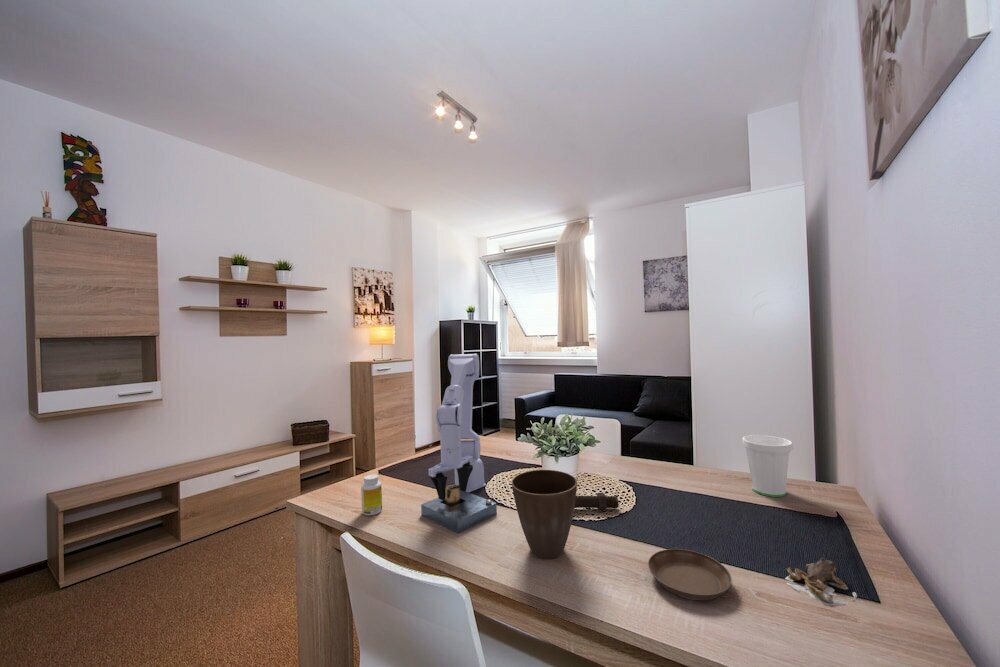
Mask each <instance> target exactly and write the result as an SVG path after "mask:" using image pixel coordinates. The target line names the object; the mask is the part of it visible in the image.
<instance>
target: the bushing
mask: <svg viewBox="0 0 1000 667" xmlns="http://www.w3.org/2000/svg"><path fill="white" fill-rule="evenodd" d="M445 491H446V497H445V499H446V505H448V506H450V507H453V506H455V505H458V504H460V494H459V486H458V485H455V484H449V485H446V488H445Z"/></svg>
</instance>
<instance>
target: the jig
mask: <svg viewBox="0 0 1000 667" xmlns="http://www.w3.org/2000/svg"><path fill="white" fill-rule="evenodd" d="M459 494H460V504H458V505H455V506H453V507H450V506H448V505H446V499H445V500H441V499H439V497H437V498H434V499H431V500H428V501H426V502H424V503H422V504H420V508H421V512H420V513H421V516H422V517H425V518H427V519H429V520H431V521H433V522H435V523H437V524H438V525H440V526H443V527H445V528H446V529H448V530H451V531H452V532H455V533H457V534H460V533H462V532H464V531H465V530H467V529H469V528H471V527H474V526H476V525H477V524H480V523H482V522H483V521H485V520H487V519H490V518H491V517H493V516H495V515H498V512H497V510H498V508H497V502H494V501H493V500H492V499H490V498H489V499H488V498H487V499H486V498H484V497H482V496H480V495H479V496H478V495H476V494H474V493H471V492H469V493H468V492H466V491H465V492H464V491H461V490H460V489H459Z"/></svg>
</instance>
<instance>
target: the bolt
mask: <svg viewBox="0 0 1000 667" xmlns="http://www.w3.org/2000/svg"><path fill="white" fill-rule="evenodd" d="M619 503H620V502H619V497H617V496H616V495H613V496H611V495H610V496H609V495H608V496H607V495H606V494H605V493H604V492H598V493H597V494H596V495H577V494H576V499H575V507H574V509H576V508H578V509H579V508H581V509H582V508H583V509H584V508H587V509H589V508H590V509H597V510H598V511H599V512H606V511H607V509H618V508H619V505H620V504H619Z"/></svg>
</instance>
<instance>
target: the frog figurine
mask: <svg viewBox="0 0 1000 667" xmlns="http://www.w3.org/2000/svg"><path fill="white" fill-rule="evenodd" d="M805 568H806V569H807V572H805V571H804V570H801V569H800V568H795V569H794V572H793V571H792V569H791V567H790V566H789V567H786V568H785V569H786V571H787V572H788V576H786V577H785V578H784V579H785V580H786V581H789V582H795V581H801V580H802V579H803V580H804V585H799V584H793V583H789V582H786V584H787V585H788V586H789V587H790V588H791V589H792V590H794V591H796V592H798V593H800V591H803V592H805V593H807V594H808V595H809V596H810V598H812V599H813V600H815V601H818V602H820V603H821V604H824V605H826V606H846V605H847V604H849V602H848V601H846V602H845V601H842V600H833V599H832V597H831V596H835V597H836V596H837V597H839V598H840V597H841V595H839V594H837V593H836V592H835V589H834V588H833V587H836V588H838V589H840V590H841V589H842V590H849V587H848V585H847V584H846V583H845V582H843V580H842V579H840V578H839V577H837V576H836V575H834V573H835V572H836V570H837V569H836V564H835V562H834V561H832V560H830V559H826V558H825V557H821V558H820V559H819V560H818V561H816V562H812V563H807V564H805ZM831 580H833V581H834V582H828V581H831ZM828 585H830V586H833V587H830V586H828ZM852 596H853V597H854V598H853V600H852V602H853V603H855V602H856V600H857V598H858V595H857V593H856V592H855V591H853V592H852Z"/></svg>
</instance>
